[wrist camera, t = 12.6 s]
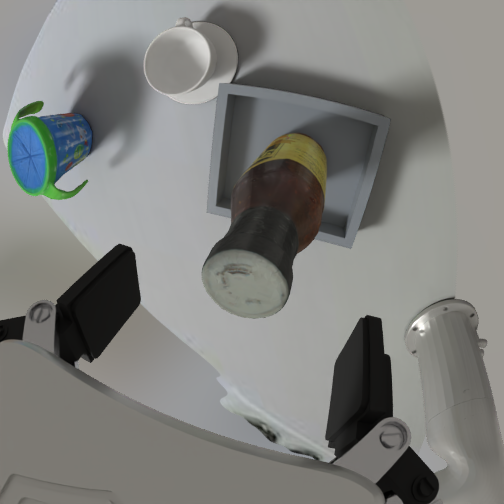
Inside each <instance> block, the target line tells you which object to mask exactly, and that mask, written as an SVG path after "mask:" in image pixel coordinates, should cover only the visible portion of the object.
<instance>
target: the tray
mask: <svg viewBox="0 0 504 504" xmlns="http://www.w3.org/2000/svg"><path fill="white" fill-rule="evenodd" d="M390 122H391V119H389V118H387V117H385V116H383V115H380V114H377V113H374V112H370V111H367V110H364V109H360V108H357V107H353V106H350V105H346V104H342V103H339V102H335V101H331V100H327V99H322V98H318V97H314V96H309V95H304V94H299V93H294V92H289V91H283V90H278V89H271V88H265V87H258V86H251V85H243V84H234V83H219V88H218V96H217V104H216V113H215V122H214V132H213V142H212V152H211V163H210V174H209V187H208V200H207V213H211V214H215V215H219V216H224V217H228V218H231V194H232V191H233V188H234V186H235V184H236V183H237V181H238V180H239V179H240V177H241V176H242V175H243V174H244V172H245V171H246V170H247V169H248V168H249V167H250V166H251V165H252V163H253V162H254V161H255V160H256V159H257V158H258V157H259V156H260V154H261V153H262V152H263V151H264V150H265V149H266V148H267V147H268V146H269V145H270V143H271V142H272V141H274V140H275V139H276V138H278V137H280V136H282V135H284V134H290V133H303V134H306V135H308V136H310V137H312V138H313V139H314V140H315V141H317V142H318V143H319V144H320V145H321V147H322V148H323V150H324V154H325V156H326V160H327V179H326V193H325V205H324V210H323V213H322V220H321V226H320V228H319V231H318V234H317V235H316V237H315V239H316V240H320V241H324V242H328V243H331V244H335V245H339V246H343V247H346V248H350V249H351V248H352V245H353V242H354V240H355V237H356V234H357V231H358V228H359V225H360V223H361V220H362V217H363V214H364V211H365V208H366V205H367V202H368V199H369V196H370V192H371V189H372V186H373V183H374V180H375V176H376V173H377V170H378V166H379V163H380V159H381V156H382V152H383V149H384V145H385V141H386V137H387V133H388V130H389V126H390Z"/></svg>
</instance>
